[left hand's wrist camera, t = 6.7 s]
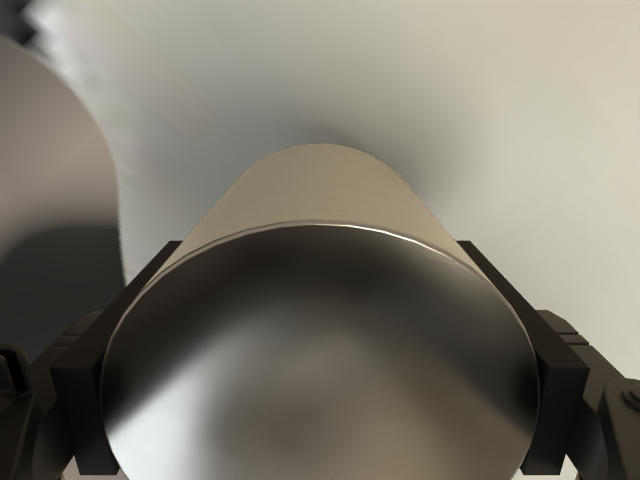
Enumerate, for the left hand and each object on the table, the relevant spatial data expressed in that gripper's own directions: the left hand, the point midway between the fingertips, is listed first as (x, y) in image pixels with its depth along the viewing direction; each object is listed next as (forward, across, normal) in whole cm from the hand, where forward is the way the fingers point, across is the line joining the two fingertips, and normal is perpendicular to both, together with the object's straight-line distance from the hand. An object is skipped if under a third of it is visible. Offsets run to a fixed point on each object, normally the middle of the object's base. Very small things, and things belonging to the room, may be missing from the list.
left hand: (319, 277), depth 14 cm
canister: (+2, 0, 0) cm, 2 cm away
